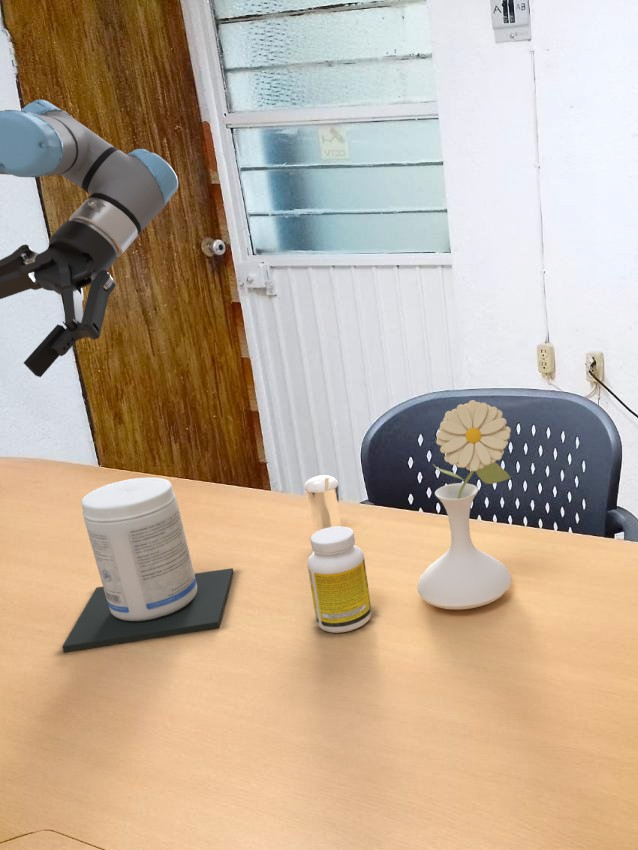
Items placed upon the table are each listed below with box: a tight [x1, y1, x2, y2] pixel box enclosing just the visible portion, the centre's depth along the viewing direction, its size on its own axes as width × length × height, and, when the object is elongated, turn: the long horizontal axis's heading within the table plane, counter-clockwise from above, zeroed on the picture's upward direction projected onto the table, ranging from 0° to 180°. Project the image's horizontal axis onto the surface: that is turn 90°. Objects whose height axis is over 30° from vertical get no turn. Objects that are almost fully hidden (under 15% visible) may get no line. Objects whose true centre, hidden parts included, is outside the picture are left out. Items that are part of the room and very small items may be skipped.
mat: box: [61, 567, 234, 653], centre depth 100 cm, size 16×14×1 cm
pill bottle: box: [306, 525, 372, 634], centre depth 95 cm, size 6×6×11 cm
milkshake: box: [303, 474, 341, 533], centre depth 116 cm, size 5×5×10 cm
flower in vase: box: [416, 399, 512, 610], centre depth 97 cm, size 13×11×25 cm
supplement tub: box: [80, 476, 197, 621], centre depth 97 cm, size 10×10×15 cm
